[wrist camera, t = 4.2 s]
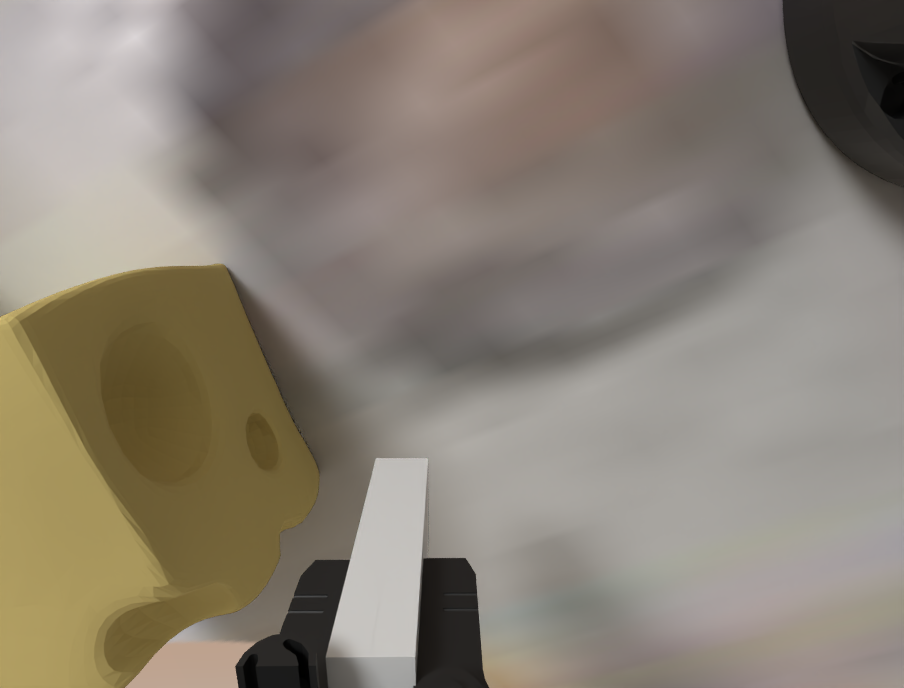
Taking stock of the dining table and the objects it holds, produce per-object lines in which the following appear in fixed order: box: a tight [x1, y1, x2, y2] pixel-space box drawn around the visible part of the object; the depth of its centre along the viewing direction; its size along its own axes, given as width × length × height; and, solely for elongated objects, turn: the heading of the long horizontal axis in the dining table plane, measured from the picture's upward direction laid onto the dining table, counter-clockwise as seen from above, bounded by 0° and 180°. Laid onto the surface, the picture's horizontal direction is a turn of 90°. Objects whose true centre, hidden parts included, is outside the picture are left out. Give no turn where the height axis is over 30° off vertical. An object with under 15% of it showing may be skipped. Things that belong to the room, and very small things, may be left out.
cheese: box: [0, 264, 320, 688], centre depth 17 cm, size 10×11×10 cm
